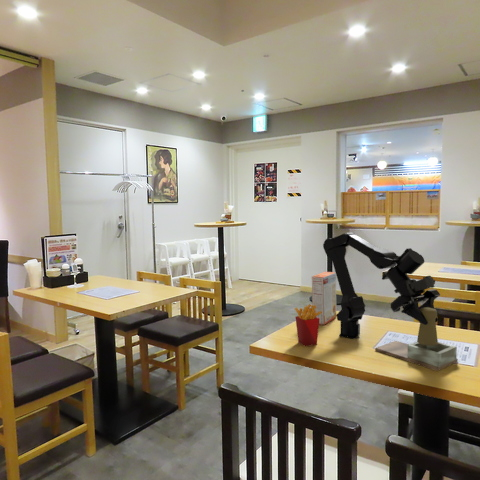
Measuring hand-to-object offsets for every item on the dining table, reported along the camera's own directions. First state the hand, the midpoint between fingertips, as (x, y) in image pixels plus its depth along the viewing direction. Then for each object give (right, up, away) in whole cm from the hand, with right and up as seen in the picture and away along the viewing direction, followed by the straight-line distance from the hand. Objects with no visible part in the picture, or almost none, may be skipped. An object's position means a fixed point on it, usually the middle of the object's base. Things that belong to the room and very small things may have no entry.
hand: (432, 322), depth 124 cm
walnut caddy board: (-2, -13, +8) cm, 15 cm away
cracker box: (-23, -10, +52) cm, 57 cm away
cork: (-1, -7, +2) cm, 7 cm away
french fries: (-34, -12, +22) cm, 42 cm away
